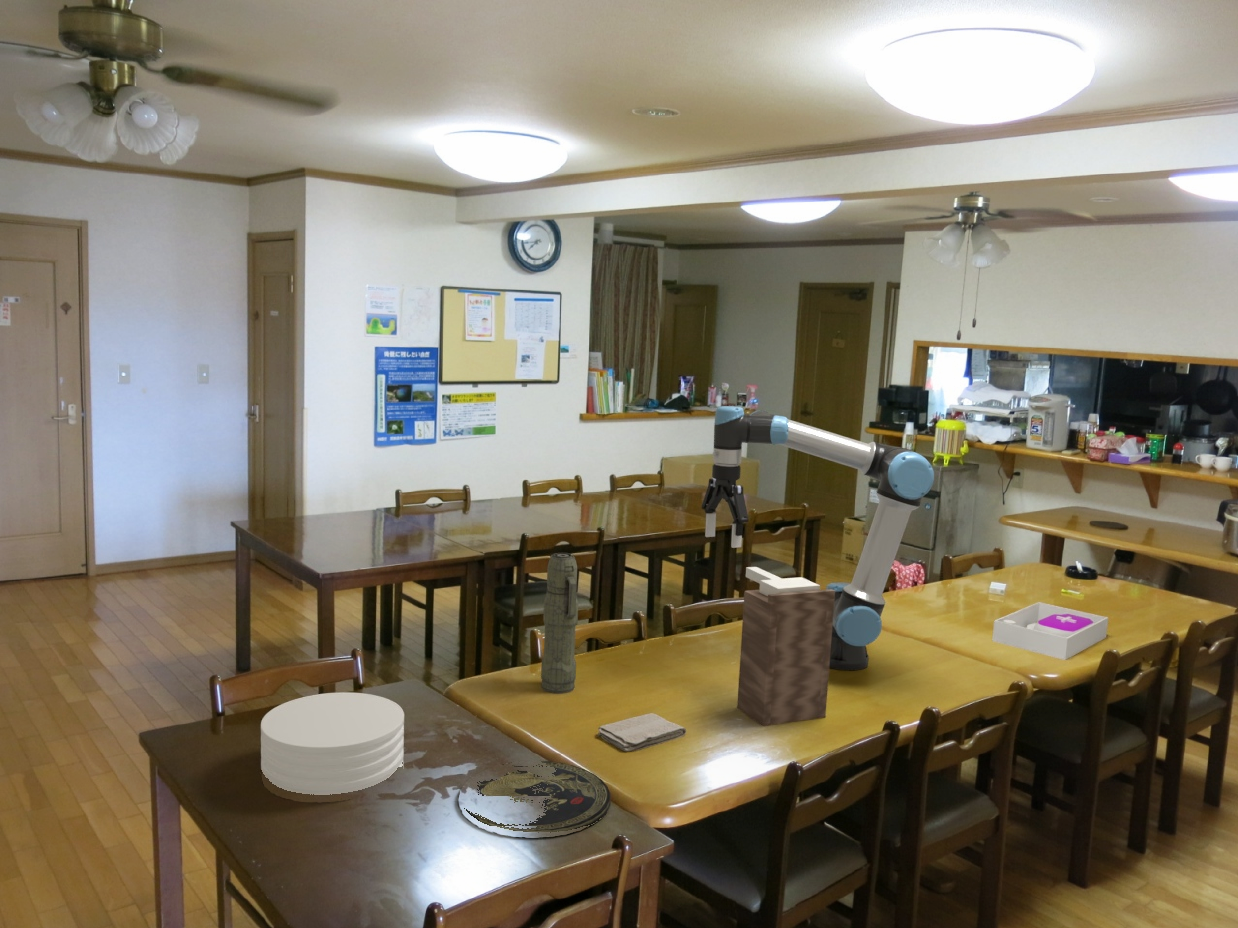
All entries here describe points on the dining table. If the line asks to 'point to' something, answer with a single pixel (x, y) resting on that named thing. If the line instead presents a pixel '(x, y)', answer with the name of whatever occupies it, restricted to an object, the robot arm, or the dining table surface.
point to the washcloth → (640, 732)
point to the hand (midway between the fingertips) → (722, 541)
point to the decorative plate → (553, 797)
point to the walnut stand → (785, 655)
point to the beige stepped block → (779, 582)
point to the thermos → (560, 625)
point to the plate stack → (332, 743)
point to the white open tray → (1050, 630)
